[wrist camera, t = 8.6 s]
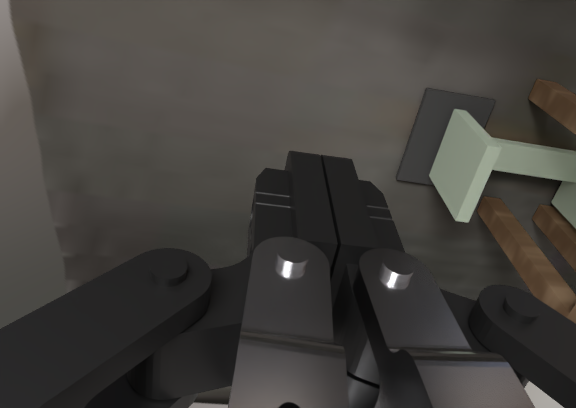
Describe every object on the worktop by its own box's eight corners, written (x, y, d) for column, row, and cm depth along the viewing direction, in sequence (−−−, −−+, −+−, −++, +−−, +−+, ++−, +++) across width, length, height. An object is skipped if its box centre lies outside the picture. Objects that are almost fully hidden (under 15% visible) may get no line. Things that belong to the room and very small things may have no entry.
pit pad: (426, 87, 38) (427, 89, 38) (493, 99, 39) (495, 101, 38) (395, 177, 42) (396, 179, 42) (457, 186, 43) (458, 188, 43)
